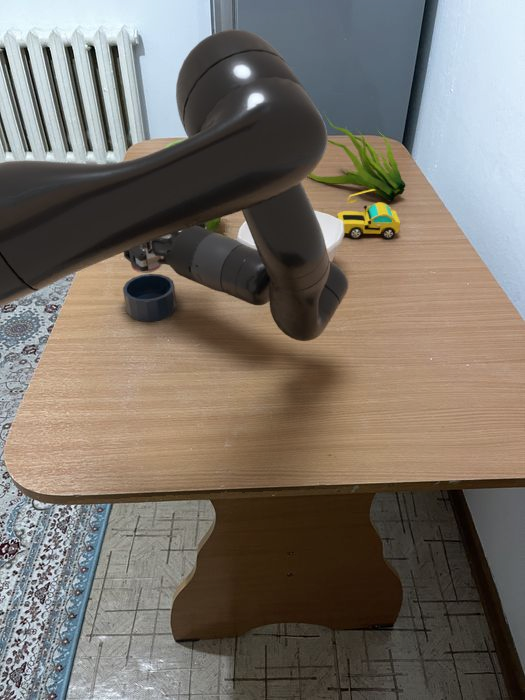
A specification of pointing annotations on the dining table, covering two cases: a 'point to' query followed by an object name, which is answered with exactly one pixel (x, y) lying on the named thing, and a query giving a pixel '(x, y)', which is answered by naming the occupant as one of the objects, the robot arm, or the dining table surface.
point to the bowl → (329, 227)
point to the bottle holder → (150, 297)
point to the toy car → (370, 220)
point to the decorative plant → (369, 169)
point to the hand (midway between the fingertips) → (129, 227)
